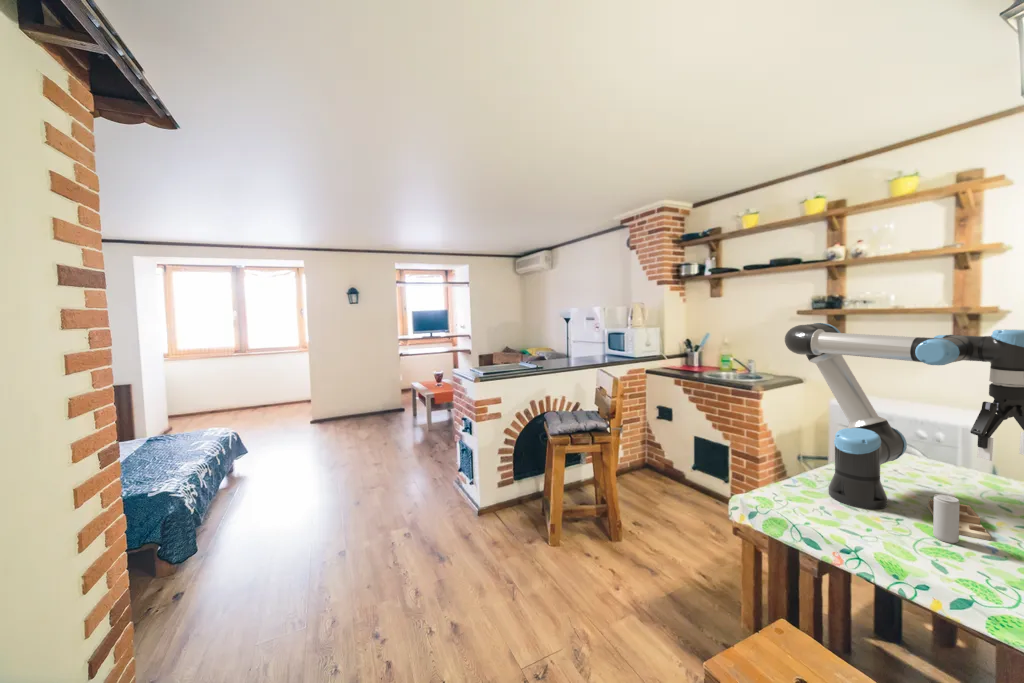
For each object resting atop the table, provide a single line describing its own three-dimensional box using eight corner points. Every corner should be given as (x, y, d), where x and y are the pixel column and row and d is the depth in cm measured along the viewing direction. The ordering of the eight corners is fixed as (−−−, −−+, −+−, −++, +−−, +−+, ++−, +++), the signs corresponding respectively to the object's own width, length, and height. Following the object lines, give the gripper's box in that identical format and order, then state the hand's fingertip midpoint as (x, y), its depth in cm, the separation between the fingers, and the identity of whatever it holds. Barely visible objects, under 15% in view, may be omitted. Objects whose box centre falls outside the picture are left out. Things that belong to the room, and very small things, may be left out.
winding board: (942, 531, 112) (943, 520, 112) (927, 507, 125) (927, 498, 124) (990, 540, 106) (990, 529, 106) (969, 514, 119) (969, 504, 119)
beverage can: (964, 544, 105) (965, 502, 105) (943, 543, 106) (943, 501, 106) (948, 534, 110) (949, 494, 109) (928, 533, 111) (928, 493, 110)
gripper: (988, 389, 104) (983, 465, 106) (1069, 384, 106) (1063, 458, 107) (954, 384, 111) (950, 455, 113) (1030, 379, 113) (1026, 449, 115)
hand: (1005, 457), depth 110 cm, fingers open, 13 cm apart
